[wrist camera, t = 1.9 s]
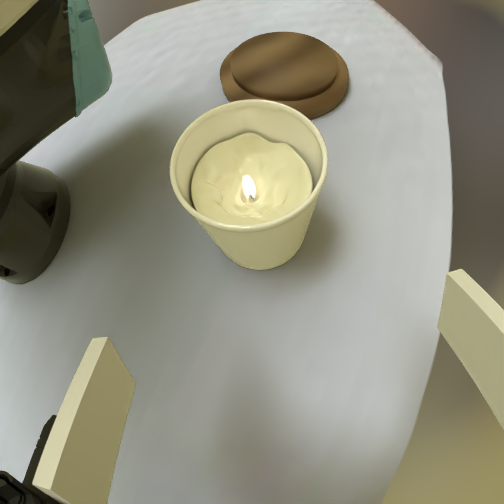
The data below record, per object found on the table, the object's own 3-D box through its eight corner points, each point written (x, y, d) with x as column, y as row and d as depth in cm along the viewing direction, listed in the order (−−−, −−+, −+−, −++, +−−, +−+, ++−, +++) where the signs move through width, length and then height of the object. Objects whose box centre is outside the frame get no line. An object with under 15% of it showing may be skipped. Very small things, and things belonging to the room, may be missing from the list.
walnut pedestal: (197, 89, 37) (191, 70, 33) (273, 34, 39) (272, 16, 36) (299, 144, 32) (299, 123, 29) (367, 75, 35) (372, 56, 32)
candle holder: (232, 172, 32) (208, 89, 21) (325, 199, 30) (343, 117, 19) (193, 258, 30) (142, 202, 18) (293, 293, 28) (300, 253, 16)
